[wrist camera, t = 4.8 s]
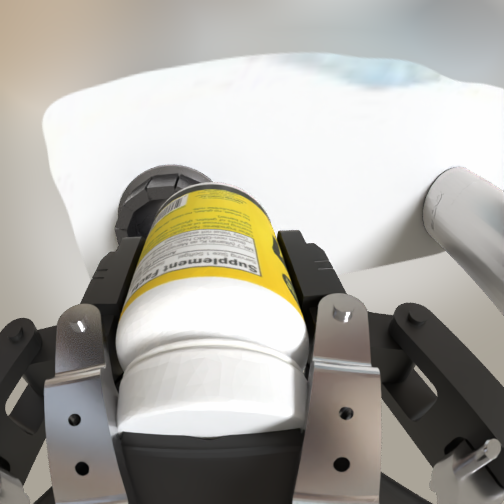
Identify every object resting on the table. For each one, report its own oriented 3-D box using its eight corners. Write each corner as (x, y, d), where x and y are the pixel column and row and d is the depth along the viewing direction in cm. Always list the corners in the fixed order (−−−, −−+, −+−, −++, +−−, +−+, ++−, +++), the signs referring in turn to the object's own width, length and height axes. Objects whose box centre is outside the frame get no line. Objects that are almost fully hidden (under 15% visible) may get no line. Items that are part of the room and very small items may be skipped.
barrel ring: (226, 160, 24) (227, 173, 21) (230, 261, 29) (231, 283, 27) (111, 170, 23) (97, 184, 20) (131, 266, 29) (123, 288, 26)
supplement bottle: (265, 283, 13) (306, 471, 6) (159, 283, 13) (131, 474, 6) (277, 179, 11) (376, 380, 4) (148, 178, 10) (50, 382, 3)
